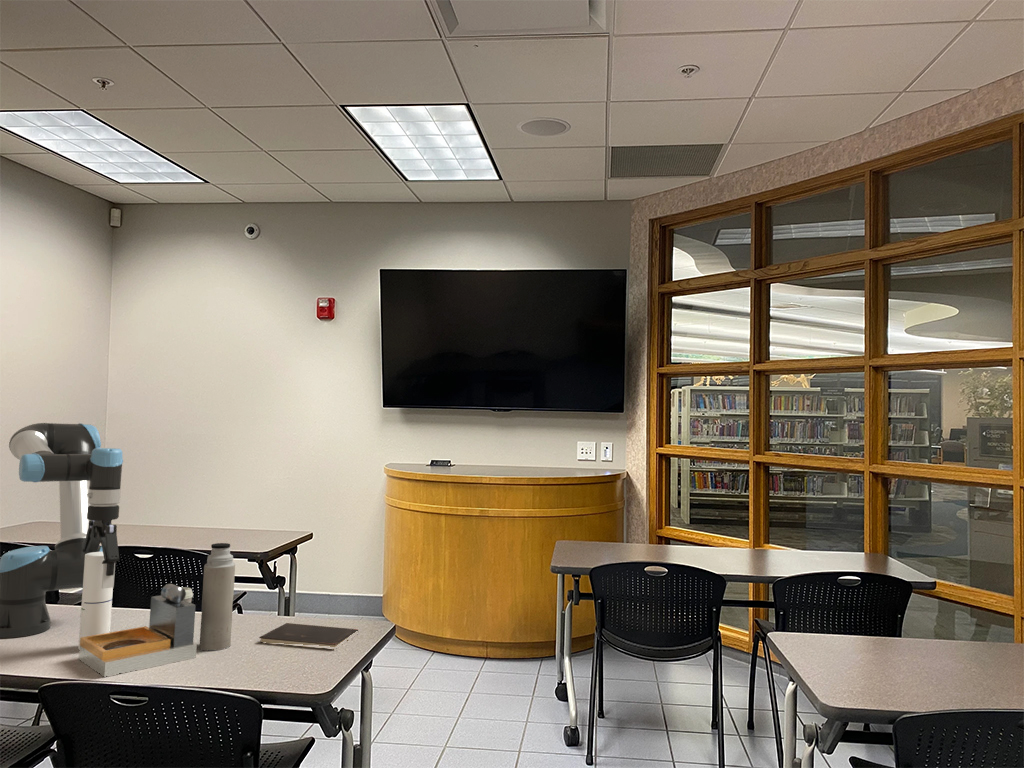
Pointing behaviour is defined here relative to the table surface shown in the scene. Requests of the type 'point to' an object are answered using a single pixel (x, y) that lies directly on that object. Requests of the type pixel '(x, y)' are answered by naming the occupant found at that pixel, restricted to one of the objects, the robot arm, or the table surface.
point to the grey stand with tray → (146, 638)
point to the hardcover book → (307, 635)
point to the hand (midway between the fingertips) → (98, 583)
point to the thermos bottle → (217, 599)
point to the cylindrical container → (94, 598)
